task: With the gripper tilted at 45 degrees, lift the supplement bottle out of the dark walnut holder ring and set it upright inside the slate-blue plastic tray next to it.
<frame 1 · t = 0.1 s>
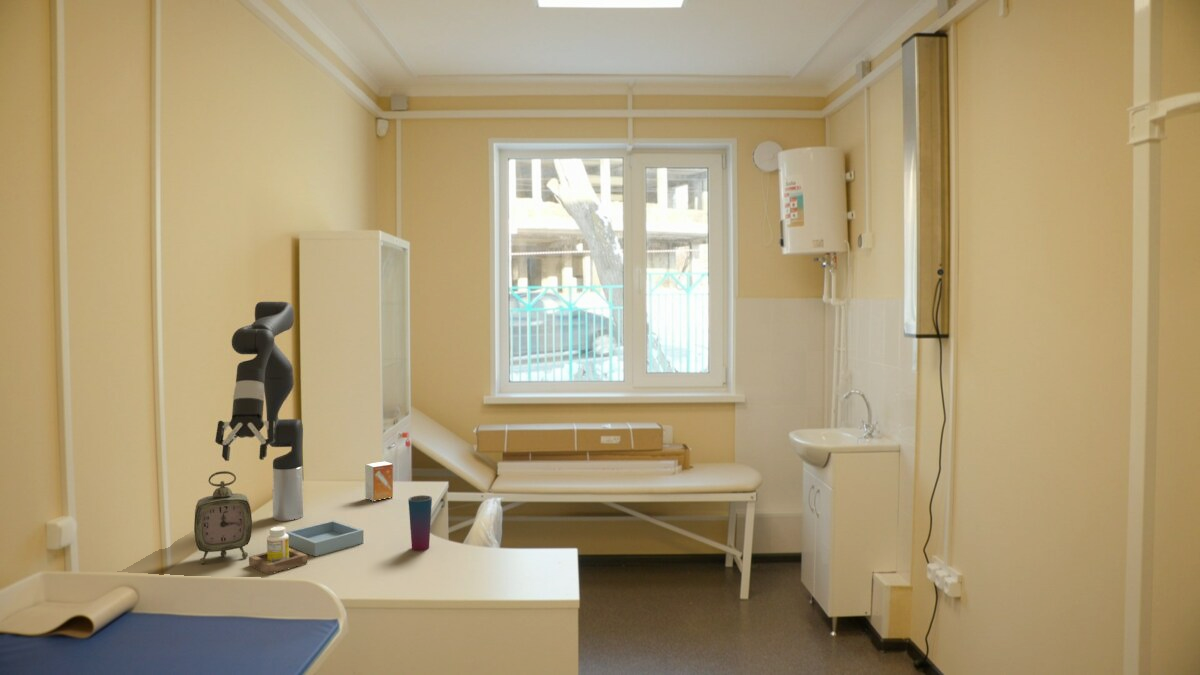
hand: (244, 459, 202), 31 cm above the table, tool tilted 20°, fingers open, 8 cm apart
tabletop clock: (223, 558, 218), on the table
supplement bottle: (278, 565, 213), resting in holder
holder: (278, 564, 213), on the table
small box: (379, 499, 283), on the table
cup: (420, 548, 228), on the table
tray: (324, 544, 231), on the table
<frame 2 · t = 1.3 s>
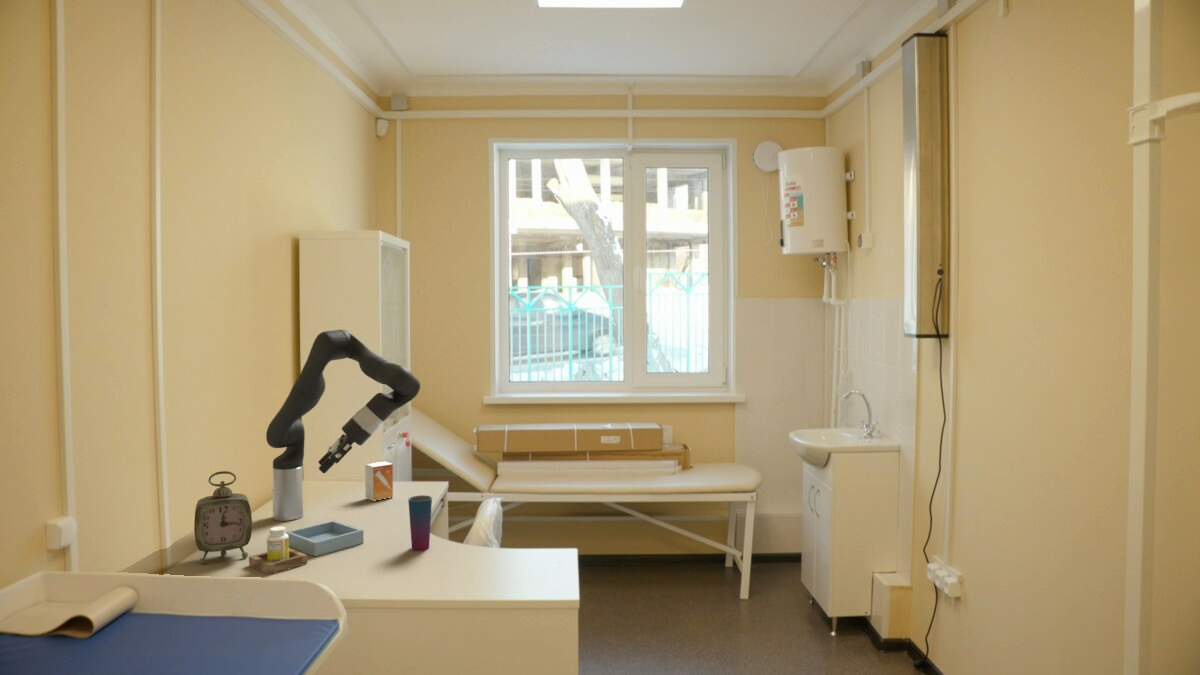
hand: (320, 467, 216), 26 cm above the table, tool tilted 45°, fingers open, 8 cm apart
nothing on the table moved.
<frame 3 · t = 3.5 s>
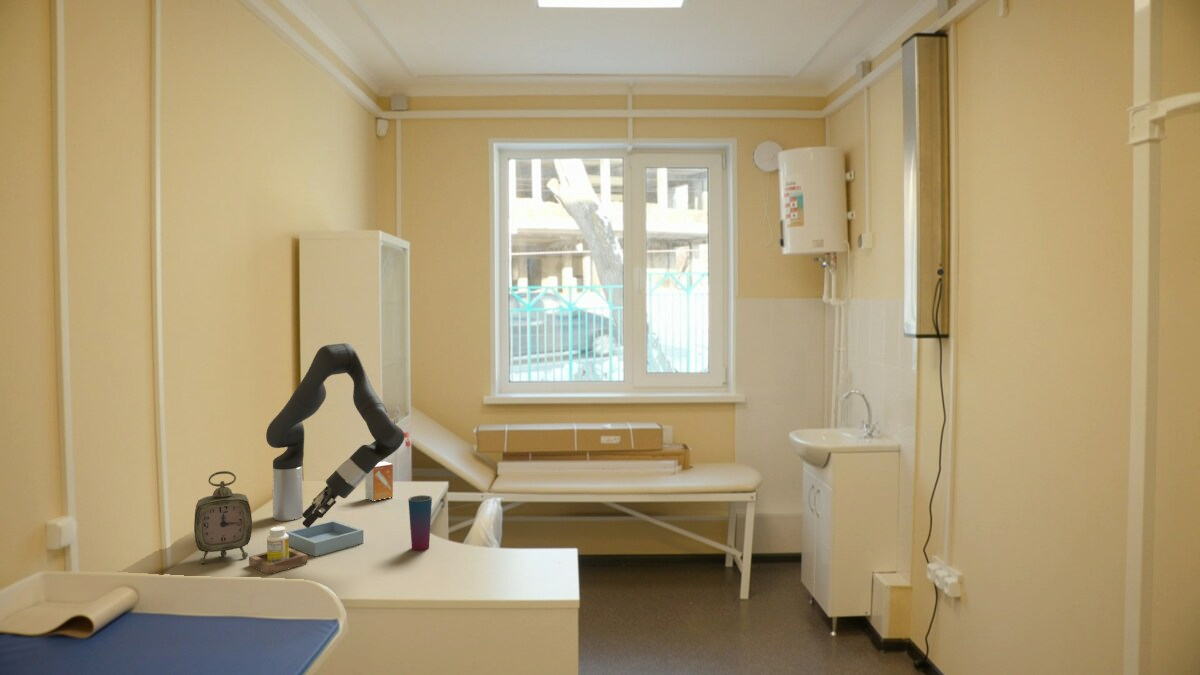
hand: (304, 521, 215), 11 cm above the table, tool tilted 45°, fingers open, 8 cm apart
nothing on the table moved.
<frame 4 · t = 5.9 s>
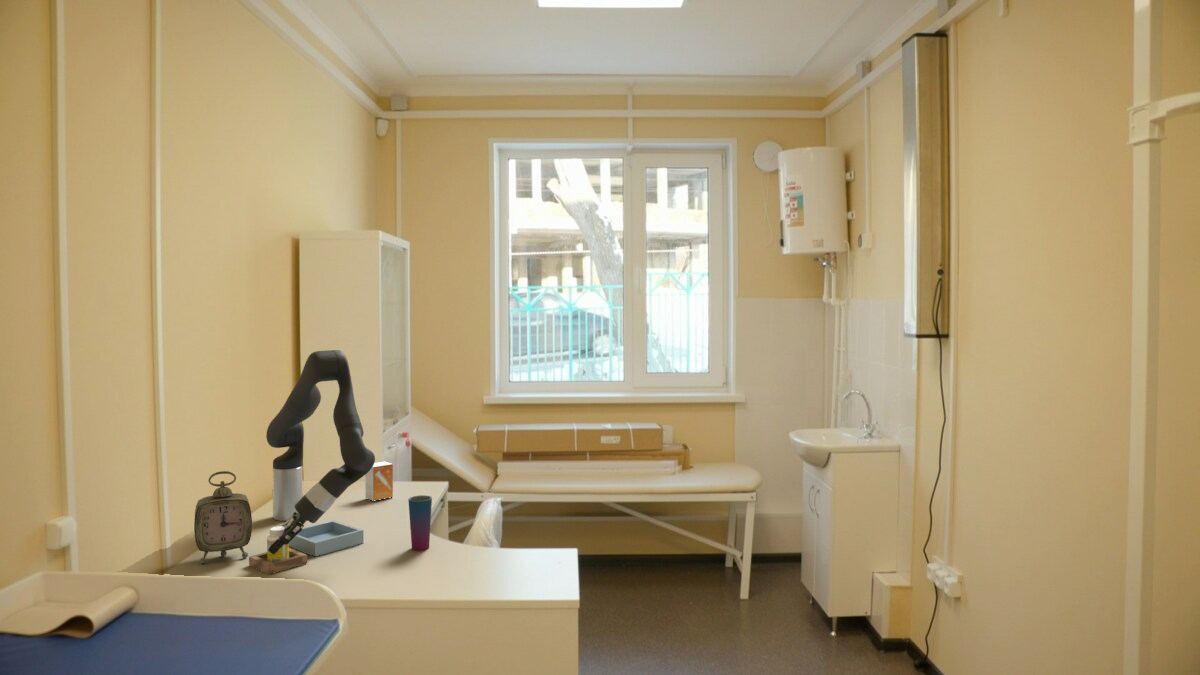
hand: (271, 548, 212), 5 cm above the table, tool tilted 45°, fingers closed on supplement bottle, 5 cm apart
supplement bottle: (278, 565, 213), resting in holder, touching gripper
everything else where it was.
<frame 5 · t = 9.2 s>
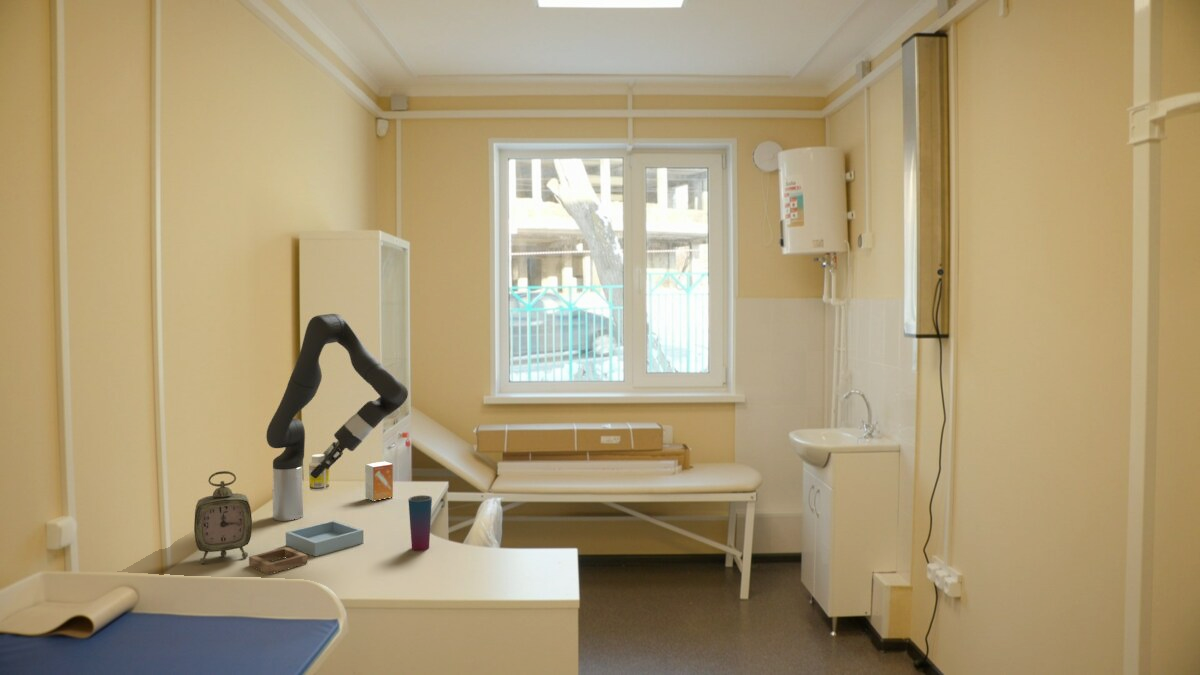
hand: (312, 473, 227), 22 cm above the table, tool tilted 45°, fingers closed on supplement bottle, 5 cm apart
supplement bottle: (319, 489, 228), point 17 cm above the table, touching gripper
everything else where it was.
when the fingers open (7 cm above the table, at t = 12.8 s): supplement bottle drops 1 cm, resting on tray.
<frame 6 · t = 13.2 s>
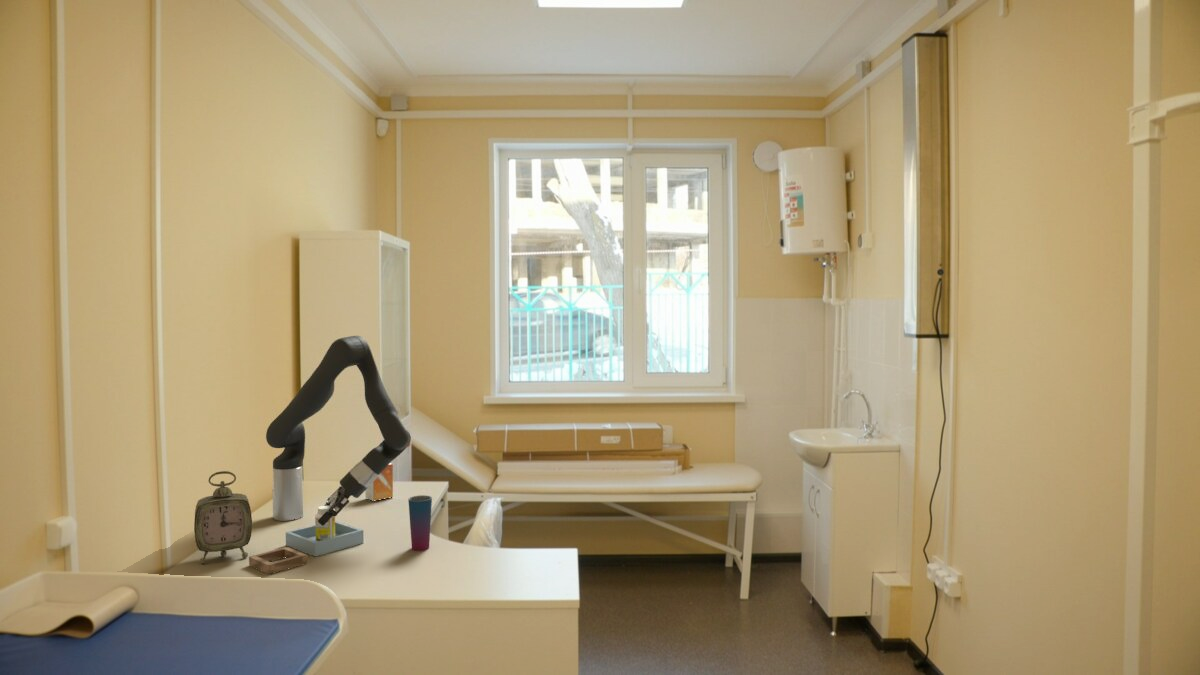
hand: (319, 519, 230), 8 cm above the table, tool tilted 45°, fingers open, 8 cm apart
supplement bottle: (325, 541, 231), point 1 cm above the table, touching tray
everything else where it was.
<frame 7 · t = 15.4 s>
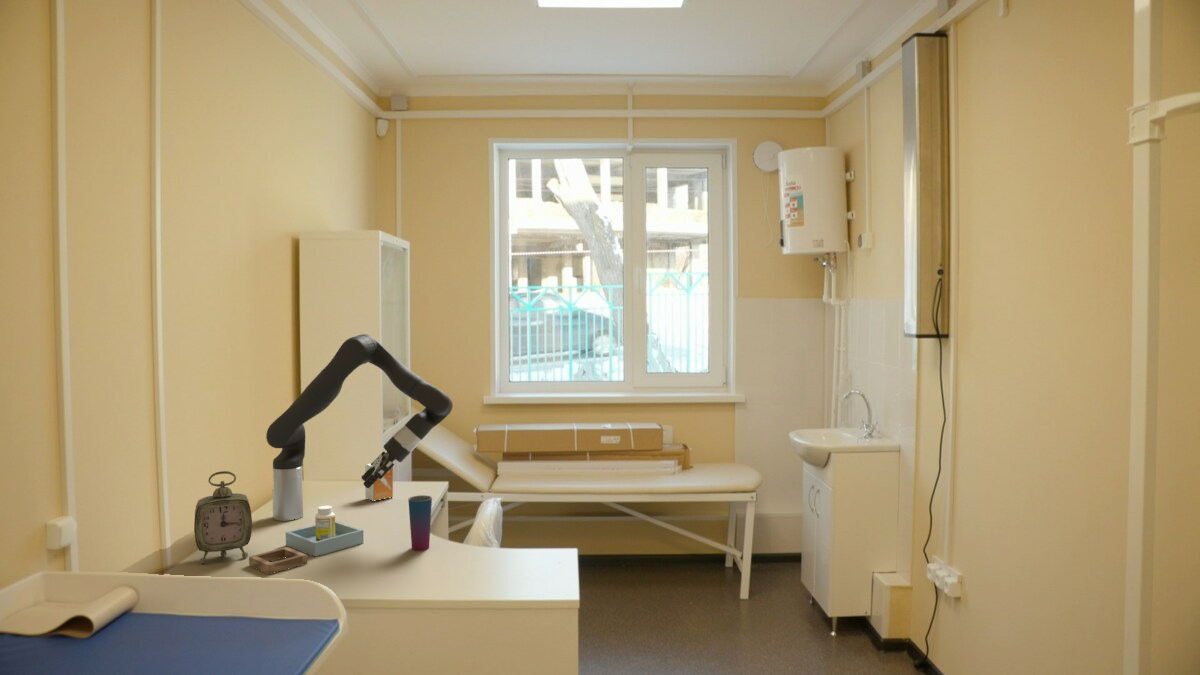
hand: (364, 483, 234), 18 cm above the table, tool tilted 45°, fingers open, 8 cm apart
nothing on the table moved.
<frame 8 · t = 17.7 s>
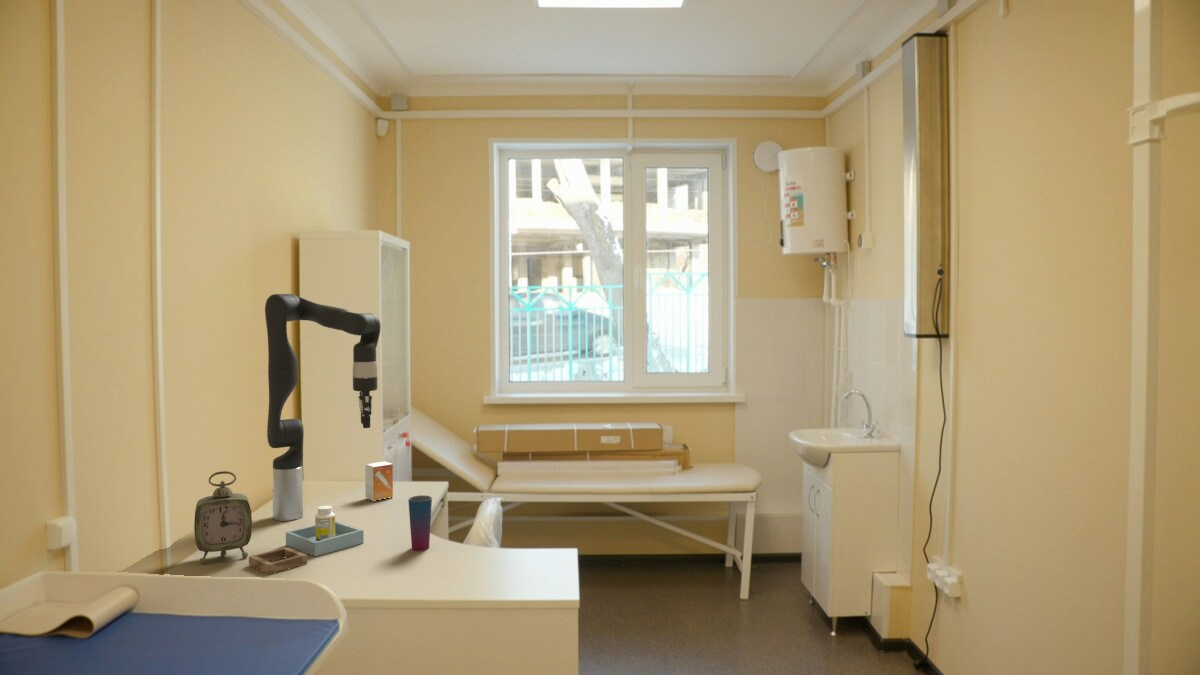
hand: (365, 425, 246), 33 cm above the table, tool pointing down, fingers open, 8 cm apart
nothing on the table moved.
at the end: supplement bottle inside the target area on the tray (0.3 cm from its centre), point 0.8 cm above the tray's base; supplement bottle tilted 0°; the gripper is holding nothing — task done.
